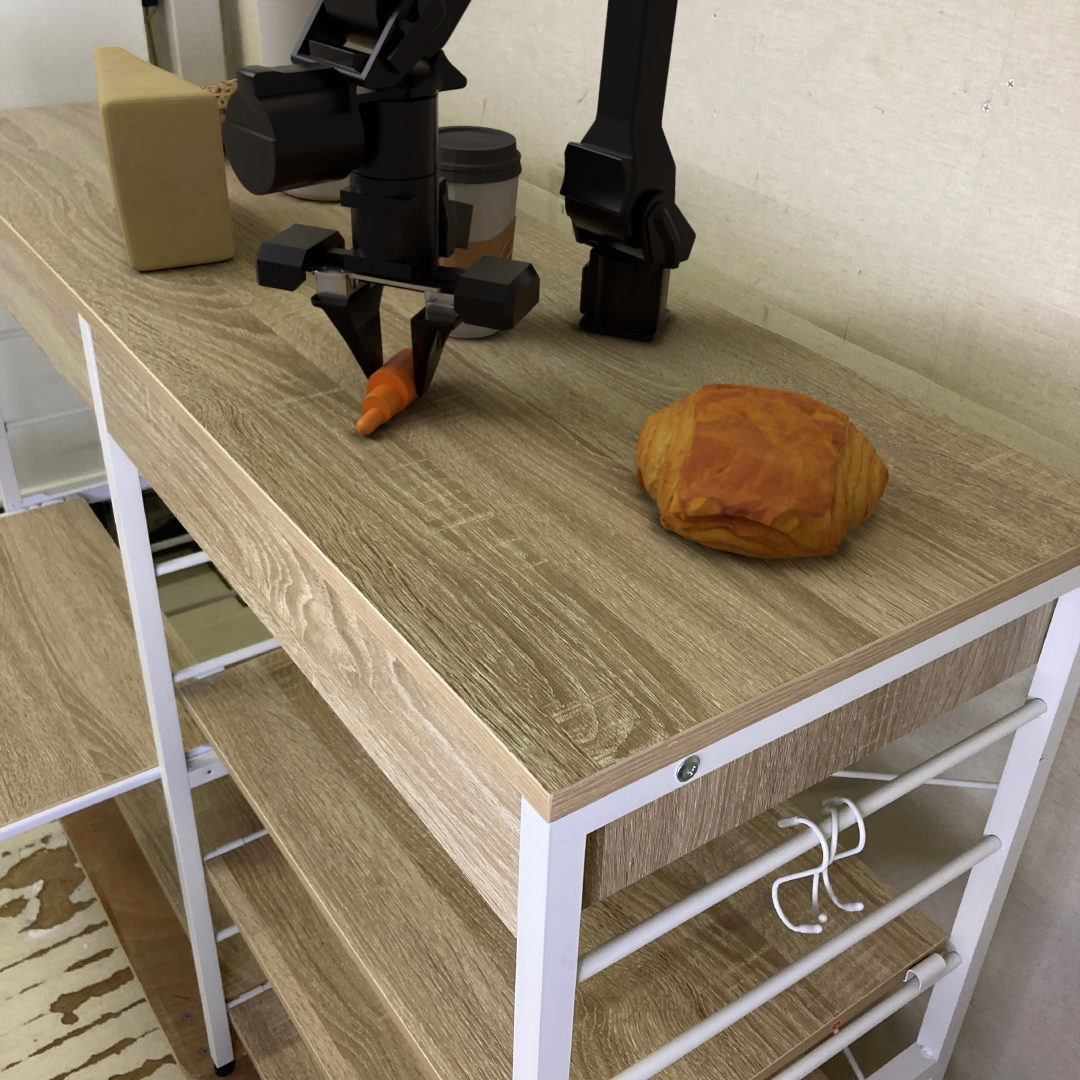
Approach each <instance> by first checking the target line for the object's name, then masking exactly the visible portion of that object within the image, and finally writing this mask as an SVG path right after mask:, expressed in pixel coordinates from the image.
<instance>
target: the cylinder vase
mask: <svg viewBox="0 0 1080 1080" xmlns="http://www.w3.org/2000/svg"><path fill="white" fill-rule="evenodd" d="M317 1H318V0H256V5H257V13H258V14H257V15H258V27H259V38H260V49H261V59H262V61H261V62H262V66H265V67H276V66H284V65H293V63H292V62H291V59H290V58H291V54H292V52H293V50H294V48H295V46H296V44H297V42H298V40H299V38H300V36H301V34H302V32H303V30H304V28H305V26H306V24H307V22H308V20H309V18H310V16H311V14H312V12H313V10H314V7H315V5H316V3H317ZM343 46H345V47H348V48H352V49H355V50H359V51H362V52H365V53H369V54H372V52H373V50H372V49H369V48H365V47H362V46H358V45H355V44H353V43H351V42H349V41H347V42H346V43H345V44H344V45H343ZM348 185H349V176H348V177H347V178H345V179H343V180H339V181H334V182H329V183H324V184H318V185H313V186H308V187H303V188H298V189H293V190H287V191H282V192H283V193H284V194H287V195H289V196H292V197H296V198H299V199H305V200H310V201H319V202H322V201H323V202H325V201H326V202H340V190H341V189H343V188H345V187H346V186H348Z"/></svg>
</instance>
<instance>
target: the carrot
mask: <svg viewBox="0 0 1080 1080" xmlns="http://www.w3.org/2000/svg"><path fill="white" fill-rule="evenodd" d="M366 383H367V384H366V392H367V395H366V396H365V397H364V398H363V399H362V402H361V411H362V414H363V416H361V417H360V418H359V419H358V420H357V422H356V424H355V425H356V427H355V428H356V430H357V432H358V433H359V434H360V435H363V436H368V435H371V434H372V433H373V432H374V431H375V430H376V429H377V428H378V427H379V426H380V425H383V424H386V423H387V422H388V421H389V420H390V419H392V417H394V416H395V414H397V413H401V412H402V411H404V410H405V409H406V408H407V407H408V405H410V404H411V403H412V402H413V401H414V400H415V399H416V398H417V397H418V395H417V392H416V387H415V383H414V372H413V355H412V347H406V348H403V349H400V350H398V352H396V353H395V354H394V355H393V356H392V357H390V358H389V359H388V360H387V361H386V362H385V363H383V366H382V367H380V368H379V369H378V370H377V371H376V372H375V373H374V374H373V375H371V377H370V378H369V380H367V382H366Z"/></svg>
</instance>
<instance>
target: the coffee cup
mask: <svg viewBox="0 0 1080 1080" xmlns="http://www.w3.org/2000/svg"><path fill="white" fill-rule="evenodd" d="M438 131H439V177H445V178H446V183H447V185H448V198H449V200H454V201H459V202H463V203H467V204H471V205H474V207H473V214H472V221H471V229H470V236H469V243H468V249H467V250H466V249H461V248H455V253H454V254H453V255H451V256H450V257H449V258H444V257H441V258H440V259H439V265H440V266H445V267H457V268H463V269H469V268H470V267H471V266H472V265H473V264H475V263H476V262H477V261H478V260H479V259H481V258H482V257H483V256H484V255H486V256H492V257H498V258H504V259H510V260H513V253H514V241H515V232H516V223H517V215H516V210H517V202H518V191H519V179H520V175H522V171H523V168H522V163H521V160H522V153H521V152H520V149H518V147H517V146H518V145H517V138H516V137H515V135H514V134H512V133H510V132H508V131H505V130H502V129H498V128H494V127H488V126H479V125H447V126H444V125H443V126H438ZM498 331H499V330H496V329H490V328H485V327H480V326H474V325H469V324H465V323H464V322H462V323H461V324H460V325H459V326H458V327H457V328H456V329H455V330H453V331H451V333H450V335H449V337H454V338H457V339H458V338H460V339H477V338H484V337H485V338H486V337H489V336H492V335H494V334H495V333H497V332H498Z"/></svg>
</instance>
